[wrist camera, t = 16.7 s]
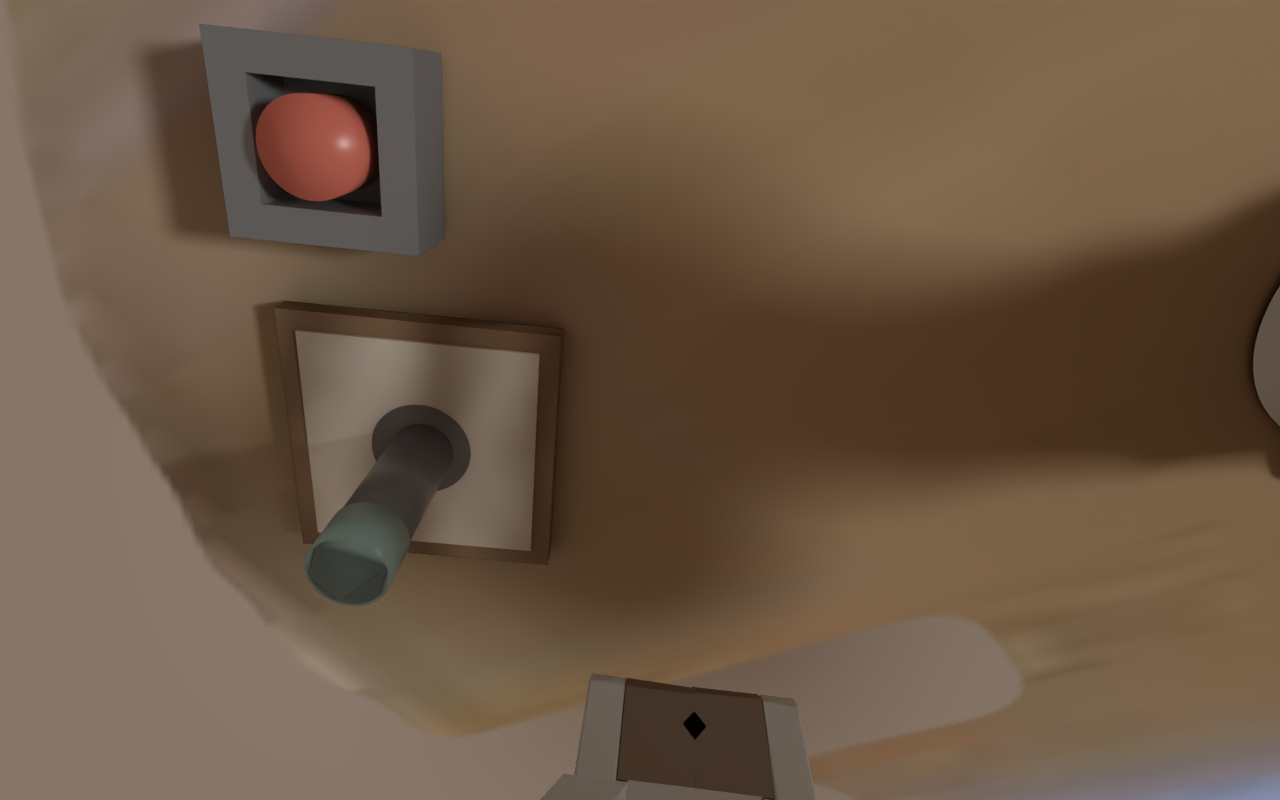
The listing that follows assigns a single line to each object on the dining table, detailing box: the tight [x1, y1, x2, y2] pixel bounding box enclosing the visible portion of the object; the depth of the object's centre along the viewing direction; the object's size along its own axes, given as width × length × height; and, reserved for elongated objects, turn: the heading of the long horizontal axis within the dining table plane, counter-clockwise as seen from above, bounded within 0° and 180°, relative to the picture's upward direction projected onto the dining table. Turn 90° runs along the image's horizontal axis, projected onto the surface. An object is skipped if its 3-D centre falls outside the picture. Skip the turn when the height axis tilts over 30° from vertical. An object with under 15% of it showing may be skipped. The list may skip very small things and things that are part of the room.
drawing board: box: [274, 301, 563, 565], centre depth 37 cm, size 14×14×2 cm
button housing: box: [199, 24, 444, 256], centre depth 29 cm, size 8×8×4 cm
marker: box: [304, 424, 453, 606], centre depth 31 cm, size 3×3×10 cm
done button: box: [256, 93, 380, 201], centre depth 28 cm, size 4×4×3 cm
